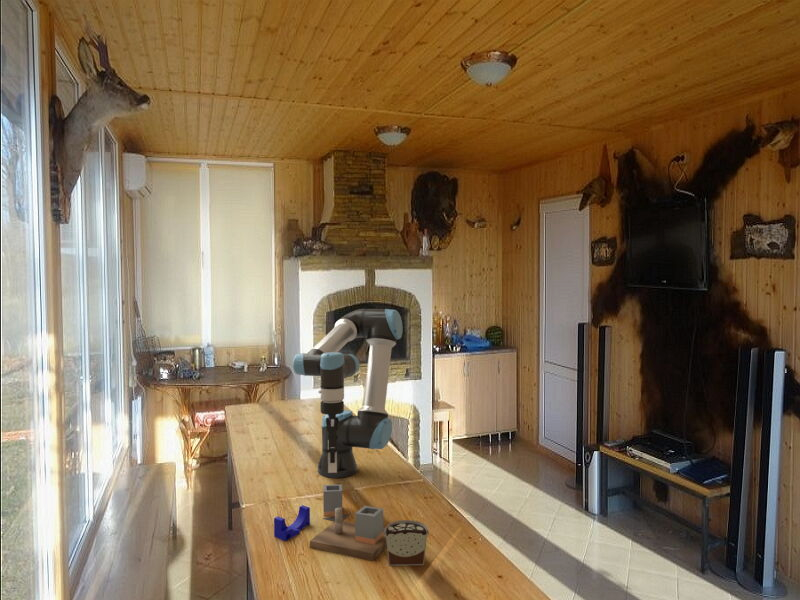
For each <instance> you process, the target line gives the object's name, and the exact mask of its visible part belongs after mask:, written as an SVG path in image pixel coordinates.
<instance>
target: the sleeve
mask: <svg viewBox="0 0 800 600" xmlns="http://www.w3.org/2000/svg"><path fill="white" fill-rule="evenodd" d="M322 486H323V487H322V488H323V489H322V490H323V493H322V494H323V496H322V497H323V499H322V500H323V517H334V516H335V508H342V509H343V484H341V483H339V484H323V485H322Z"/></svg>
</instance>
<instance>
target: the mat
mask: <svg viewBox="0 0 800 600" xmlns="http://www.w3.org/2000/svg"><path fill="white" fill-rule="evenodd" d="M349 516H351V513H347V514H342V519H343V521H345V519H347V518H348V517H349ZM322 520H326V521H330V522H335V516H328V517H325V518H323V517H322Z"/></svg>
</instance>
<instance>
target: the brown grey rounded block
mask: <svg viewBox="0 0 800 600" xmlns="http://www.w3.org/2000/svg"><path fill="white" fill-rule="evenodd" d="M384 528H385V531H384V535H385V533H386V542H387V547H386V550H387V551H386V552H387V561H388V566H399V567H400V566H424V565H425V557H426V548H427V539H428V536H430V532H429V529H428V526H427V525H426V524H424V523H423V522H421V521H417V520H410V519H403V520H395V521H392V522H390V523H389V524H387V525H386V526H385V527H384ZM383 537H384V536H383Z"/></svg>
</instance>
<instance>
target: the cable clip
mask: <svg viewBox="0 0 800 600" xmlns="http://www.w3.org/2000/svg"><path fill="white" fill-rule="evenodd" d="M298 509H299V510H298V514H297V515H296V516H297V517H296V518H295V520H294V521H293V522H292V524H290V525H289V526H287V523H286V518H283V517H280V516H275V517H274V518H273V528H274V529H273V537H274V538H276V539H279V540H281V541H283V542H286V541H289V540H290V539H292V538H294V537H295V536H298V535H299V534H301V533H300V531H301V530H303V529H305V528H306V526H310V525H311V508H310V506H306V505H300V506H299V507H298Z"/></svg>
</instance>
